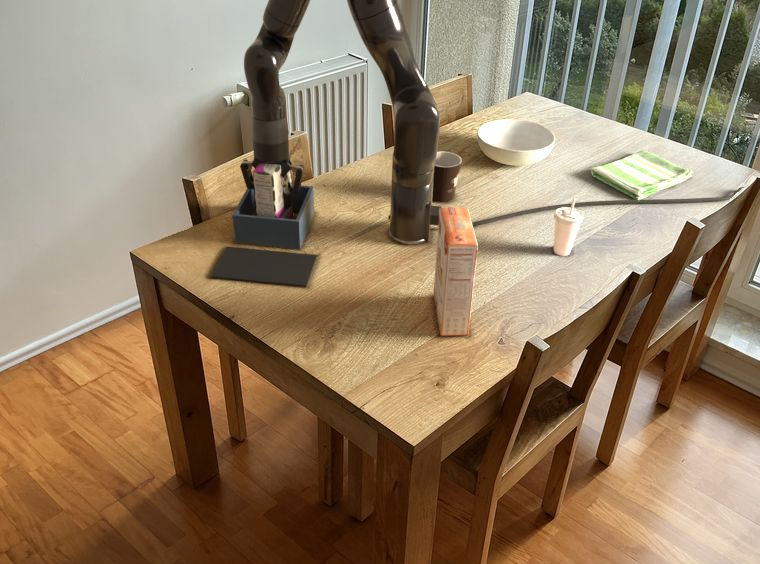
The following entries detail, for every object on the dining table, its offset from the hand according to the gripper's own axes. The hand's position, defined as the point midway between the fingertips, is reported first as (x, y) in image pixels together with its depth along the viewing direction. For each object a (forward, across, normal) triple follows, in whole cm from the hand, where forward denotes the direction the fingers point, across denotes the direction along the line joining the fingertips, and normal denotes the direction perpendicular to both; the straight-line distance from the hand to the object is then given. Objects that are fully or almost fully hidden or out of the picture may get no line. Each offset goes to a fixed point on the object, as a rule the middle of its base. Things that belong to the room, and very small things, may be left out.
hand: (274, 206), depth 180 cm
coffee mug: (+6, +38, +24) cm, 45 cm away
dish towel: (+6, +88, +44) cm, 99 cm away
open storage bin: (+5, 0, 0) cm, 5 cm away
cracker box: (+6, +42, -27) cm, 50 cm away
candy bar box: (+6, 0, 0) cm, 6 cm away
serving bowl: (+6, +54, +49) cm, 73 cm away
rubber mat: (+5, +2, -16) cm, 17 cm away
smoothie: (+6, +66, +2) cm, 66 cm away
